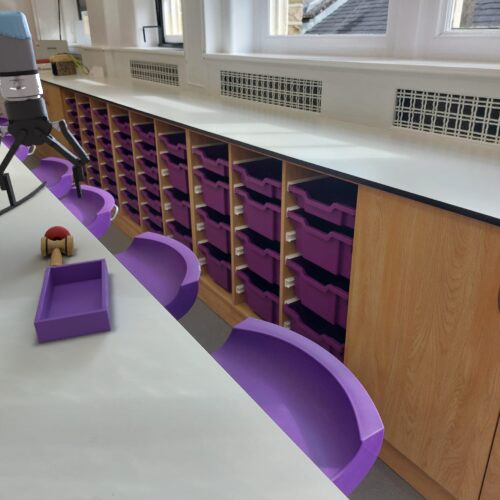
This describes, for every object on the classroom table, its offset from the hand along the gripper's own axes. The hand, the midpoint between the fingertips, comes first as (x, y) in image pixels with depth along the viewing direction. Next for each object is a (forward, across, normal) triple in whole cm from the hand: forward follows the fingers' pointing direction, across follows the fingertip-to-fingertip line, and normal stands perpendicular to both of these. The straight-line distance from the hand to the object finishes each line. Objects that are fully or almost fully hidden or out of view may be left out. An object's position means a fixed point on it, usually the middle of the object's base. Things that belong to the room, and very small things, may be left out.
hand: (47, 200), depth 105 cm
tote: (+15, +5, -23) cm, 28 cm away
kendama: (+15, 0, +1) cm, 15 cm away
